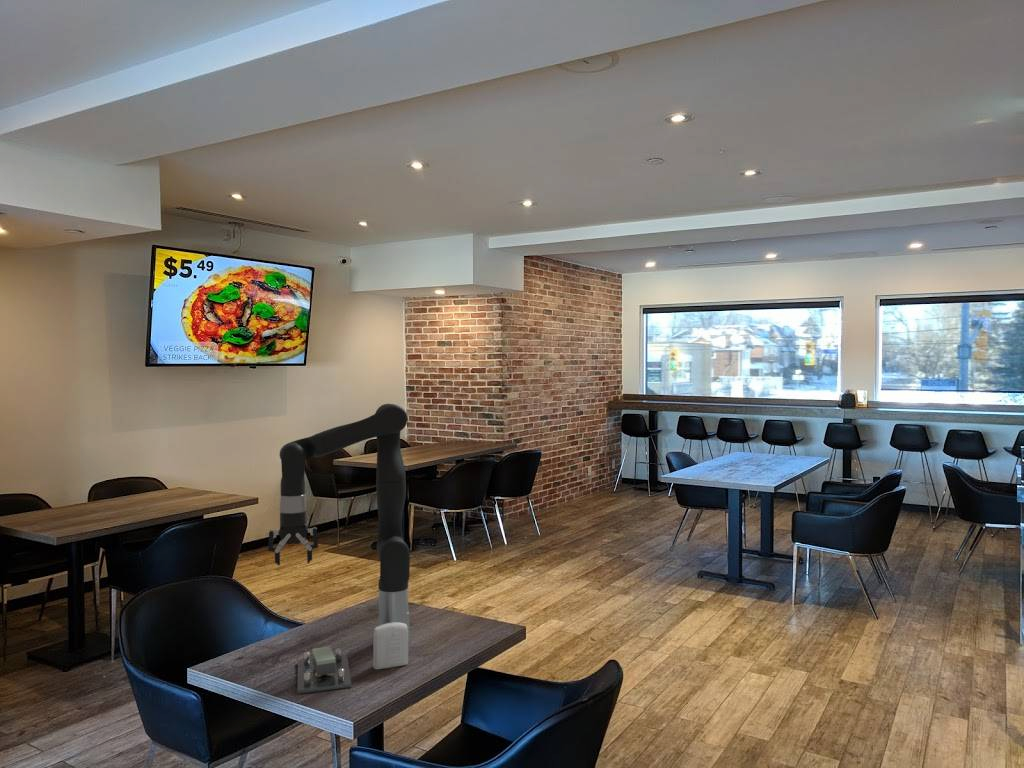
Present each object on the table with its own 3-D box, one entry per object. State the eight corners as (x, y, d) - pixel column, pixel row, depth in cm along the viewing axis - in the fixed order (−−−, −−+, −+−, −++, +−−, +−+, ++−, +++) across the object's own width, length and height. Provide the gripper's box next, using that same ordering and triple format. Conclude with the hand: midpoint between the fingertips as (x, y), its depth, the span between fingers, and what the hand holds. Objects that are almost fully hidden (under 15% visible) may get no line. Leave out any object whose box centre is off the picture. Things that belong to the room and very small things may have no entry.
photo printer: (406, 659, 213) (405, 618, 213) (410, 665, 210) (409, 622, 209) (371, 666, 209) (371, 623, 209) (375, 671, 205) (374, 628, 205)
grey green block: (330, 659, 209) (329, 646, 209) (335, 673, 199) (335, 658, 199) (312, 662, 207) (312, 648, 207) (317, 676, 198) (316, 661, 197)
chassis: (346, 657, 215) (346, 644, 215) (351, 687, 195) (351, 672, 195) (297, 663, 211) (297, 649, 211) (297, 693, 191) (297, 679, 191)
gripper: (317, 506, 221) (317, 558, 221) (268, 508, 217) (269, 562, 217) (317, 510, 214) (318, 565, 214) (267, 513, 210) (268, 568, 210)
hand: (293, 563), depth 216 cm, fingers open, 8 cm apart
